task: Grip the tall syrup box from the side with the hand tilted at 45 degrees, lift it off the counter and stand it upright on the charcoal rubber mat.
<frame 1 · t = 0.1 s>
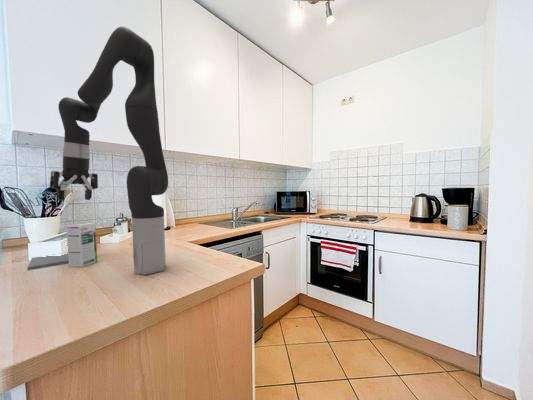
hand: (75, 200, 85), 22 cm above the worktop, tool pointing down, fingers open, 8 cm apart
mat: (53, 261, 84), on the worktop
syrup box: (83, 264, 80), on the worktop
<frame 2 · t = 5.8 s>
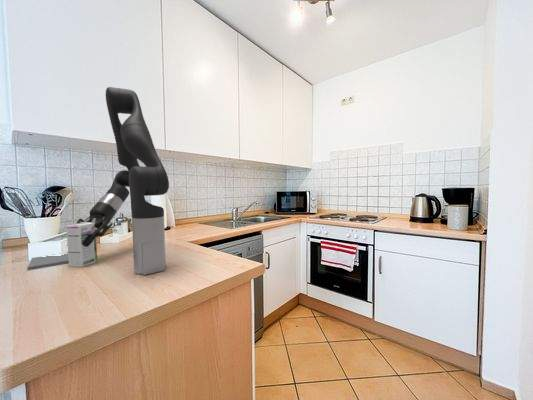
hand: (77, 245, 78), 7 cm above the worktop, tool tilted 45°, fingers closed on syrup box, 6 cm apart
syrup box: (83, 264, 80), on the worktop, touching gripper
when the fingers open (10 cm above the worktop, at t = 11.5 s): syrup box drops 1 cm, resting on mat.
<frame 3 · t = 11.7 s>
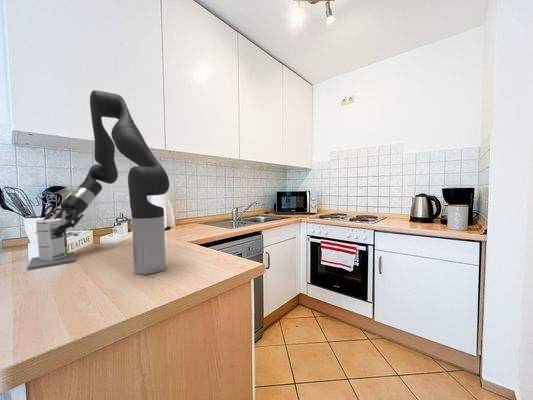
hand: (47, 235, 82), 10 cm above the worktop, tool tilted 45°, fingers open, 7 cm apart
syrup box: (53, 258, 84), point 1 cm above the worktop, touching mat
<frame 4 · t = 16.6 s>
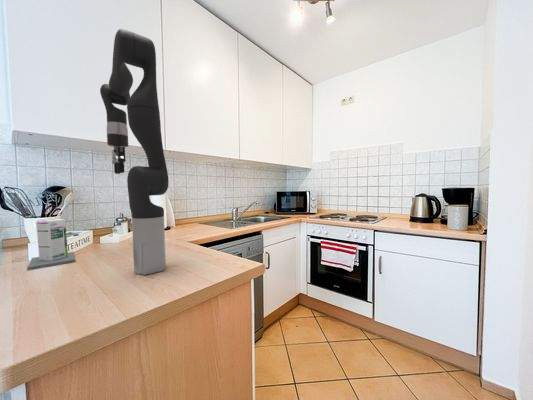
hand: (119, 173, 97), 33 cm above the worktop, tool pointing down, fingers open, 8 cm apart
nothing on the worktop moved.
at the end: syrup box inside the target area on the mat (0.3 cm from its centre), point 0.8 cm above the mat's base; syrup box tilted 0°; the gripper is holding nothing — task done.
